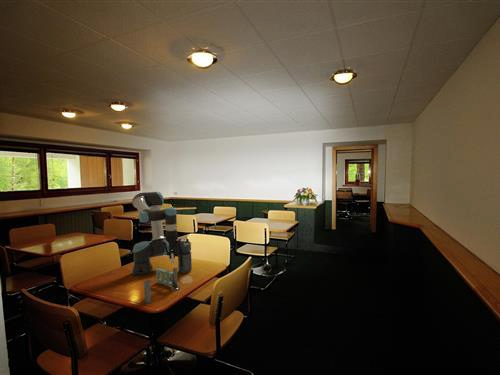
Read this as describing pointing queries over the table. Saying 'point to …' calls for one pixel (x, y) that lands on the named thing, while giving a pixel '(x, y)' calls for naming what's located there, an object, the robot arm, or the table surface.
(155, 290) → the table surface
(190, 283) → the table surface
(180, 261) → the beverage bottle
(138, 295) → the table surface
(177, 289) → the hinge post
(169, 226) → the robot arm
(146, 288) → the post
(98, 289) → the table surface
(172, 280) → the gate
